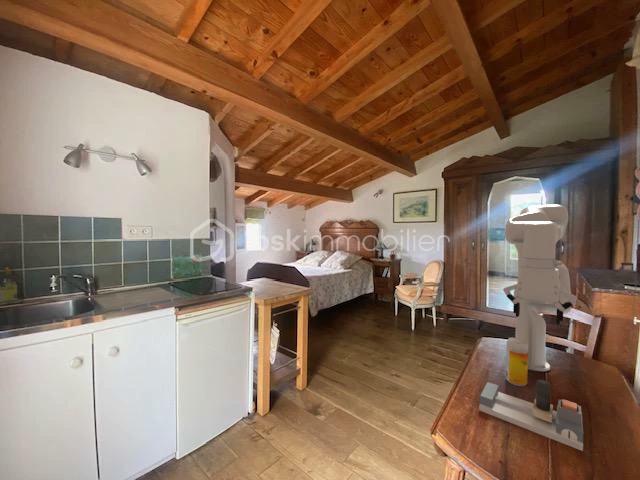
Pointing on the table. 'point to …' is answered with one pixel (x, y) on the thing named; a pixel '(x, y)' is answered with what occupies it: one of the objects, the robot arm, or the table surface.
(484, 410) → the rail base
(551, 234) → the robot arm
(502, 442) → the table surface
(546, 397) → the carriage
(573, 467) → the table surface
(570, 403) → the button
